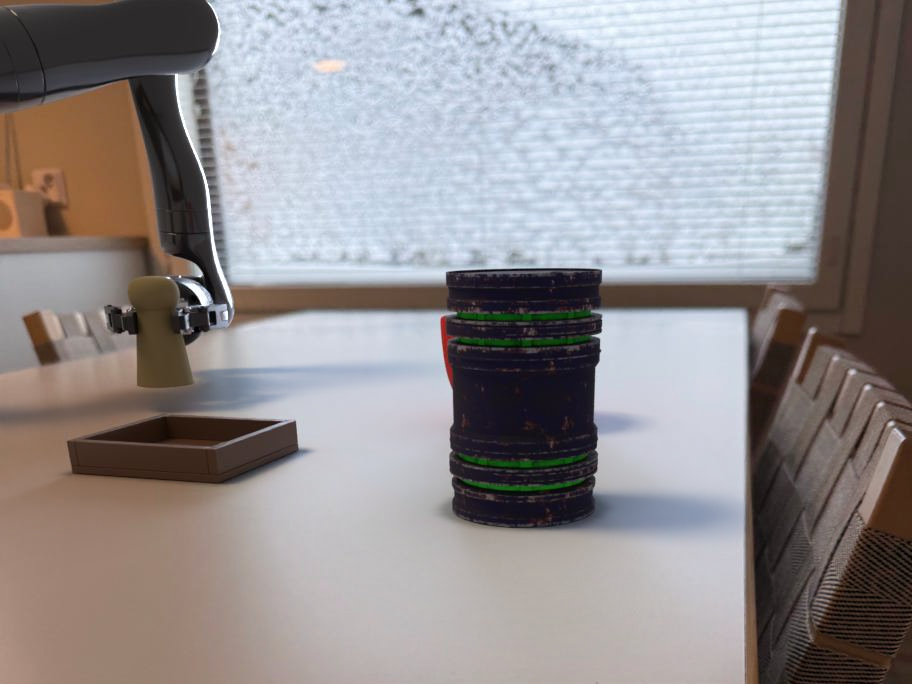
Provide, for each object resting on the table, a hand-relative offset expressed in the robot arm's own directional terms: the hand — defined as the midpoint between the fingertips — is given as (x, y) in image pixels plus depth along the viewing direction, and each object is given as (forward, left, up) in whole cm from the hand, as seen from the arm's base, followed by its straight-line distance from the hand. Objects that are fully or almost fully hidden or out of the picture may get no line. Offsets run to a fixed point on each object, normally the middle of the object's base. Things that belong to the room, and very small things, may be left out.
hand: (153, 323), depth 99 cm
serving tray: (+17, -20, -9) cm, 28 cm away
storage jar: (+48, -27, -9) cm, 56 cm away
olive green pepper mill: (-1, +2, -7) cm, 7 cm away
